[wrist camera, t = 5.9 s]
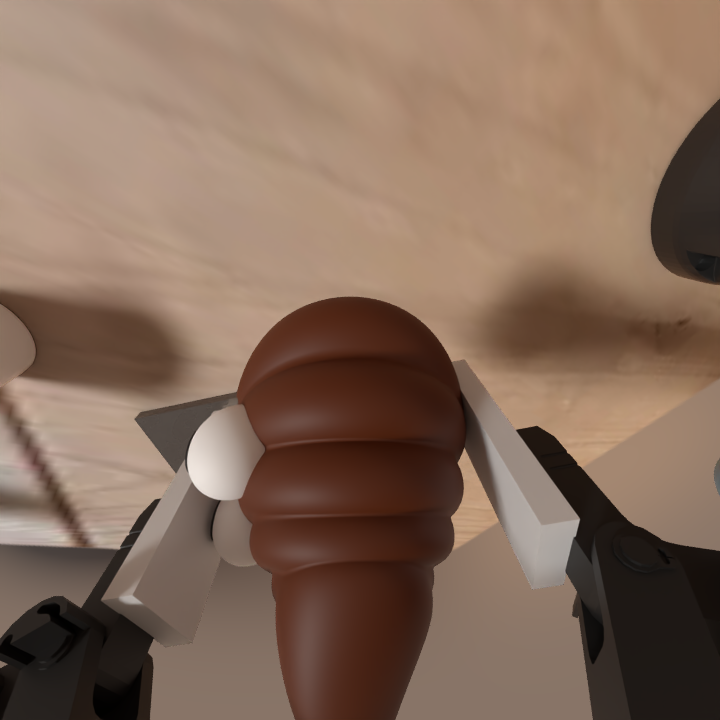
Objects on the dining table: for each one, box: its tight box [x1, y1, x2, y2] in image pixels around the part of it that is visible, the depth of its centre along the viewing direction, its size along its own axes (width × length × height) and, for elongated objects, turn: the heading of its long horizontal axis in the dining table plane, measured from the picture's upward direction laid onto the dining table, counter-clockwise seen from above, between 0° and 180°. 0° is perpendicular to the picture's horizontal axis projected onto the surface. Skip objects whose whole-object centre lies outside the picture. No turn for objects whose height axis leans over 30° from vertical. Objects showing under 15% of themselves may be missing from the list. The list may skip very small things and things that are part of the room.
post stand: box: [135, 392, 238, 473], centre depth 32 cm, size 20×20×7 cm
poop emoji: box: [185, 297, 466, 720], centre depth 9 cm, size 10×8×9 cm
